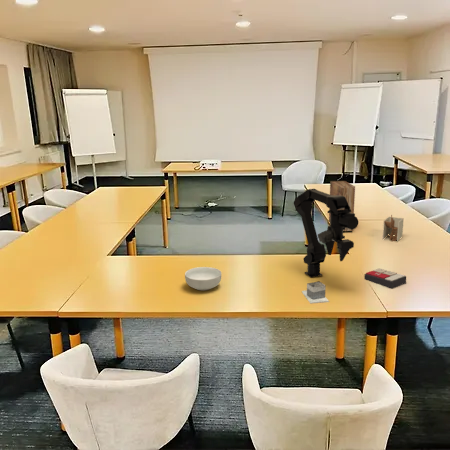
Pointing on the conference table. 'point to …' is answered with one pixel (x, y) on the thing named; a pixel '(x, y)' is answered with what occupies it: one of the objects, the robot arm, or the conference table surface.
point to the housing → (316, 290)
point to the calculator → (385, 278)
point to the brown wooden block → (343, 194)
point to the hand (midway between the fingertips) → (335, 258)
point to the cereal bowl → (203, 278)
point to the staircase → (393, 227)
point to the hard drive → (319, 300)
